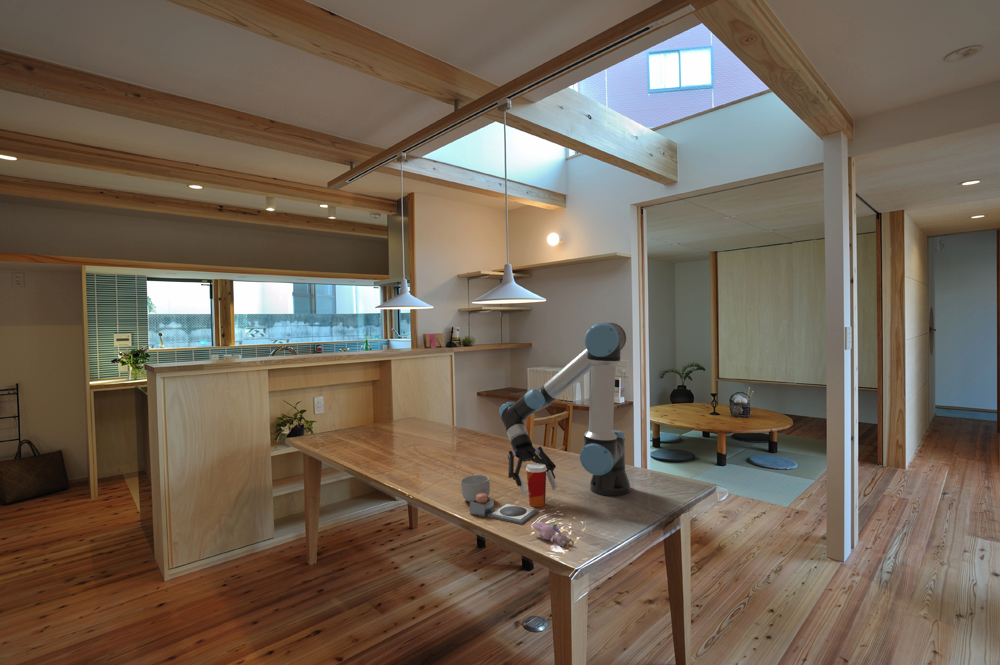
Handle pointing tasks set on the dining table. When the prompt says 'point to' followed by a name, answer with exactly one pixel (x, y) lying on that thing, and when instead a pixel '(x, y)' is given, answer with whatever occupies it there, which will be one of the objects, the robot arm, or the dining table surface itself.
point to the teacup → (475, 486)
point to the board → (513, 513)
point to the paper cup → (536, 484)
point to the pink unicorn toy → (552, 533)
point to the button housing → (482, 507)
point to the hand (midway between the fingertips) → (540, 490)
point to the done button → (481, 498)
